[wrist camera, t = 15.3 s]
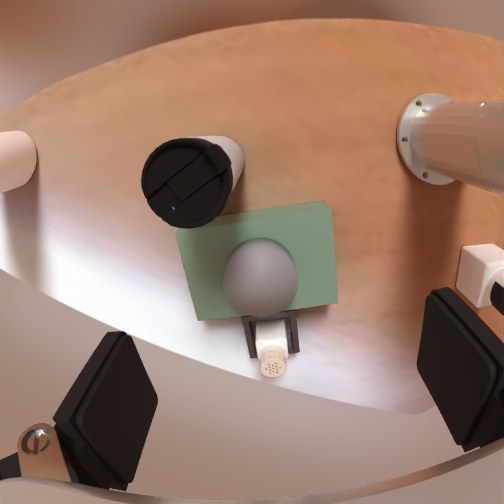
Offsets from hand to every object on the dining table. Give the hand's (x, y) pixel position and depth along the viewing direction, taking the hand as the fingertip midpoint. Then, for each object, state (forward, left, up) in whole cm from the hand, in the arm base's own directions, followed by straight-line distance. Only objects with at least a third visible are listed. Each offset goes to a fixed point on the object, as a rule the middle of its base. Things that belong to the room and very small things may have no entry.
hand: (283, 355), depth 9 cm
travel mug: (+5, -4, -32) cm, 33 cm away
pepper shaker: (+2, +20, -32) cm, 38 cm away
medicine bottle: (-32, +16, -32) cm, 48 cm away
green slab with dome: (+2, +9, -32) cm, 34 cm away
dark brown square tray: (+2, +20, -32) cm, 38 cm away
